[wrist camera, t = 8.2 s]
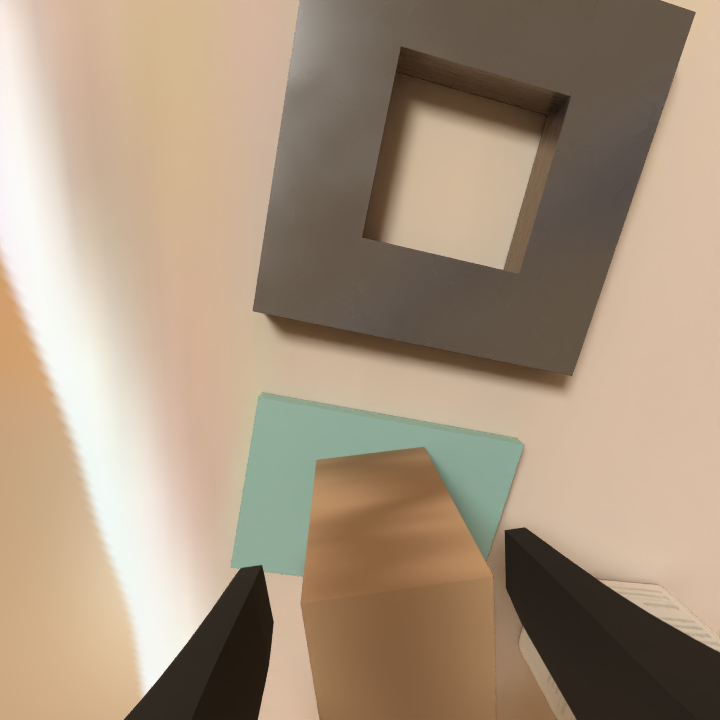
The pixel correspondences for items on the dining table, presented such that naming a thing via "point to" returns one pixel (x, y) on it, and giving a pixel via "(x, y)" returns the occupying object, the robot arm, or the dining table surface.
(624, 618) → the robot arm
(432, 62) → the socket plate
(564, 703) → the skincare box
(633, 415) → the dining table surface
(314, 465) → the mat
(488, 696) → the brown block
